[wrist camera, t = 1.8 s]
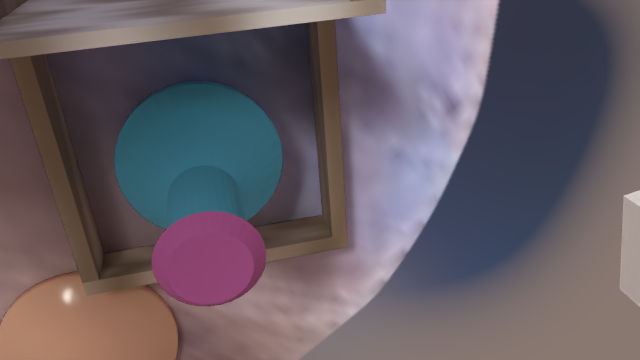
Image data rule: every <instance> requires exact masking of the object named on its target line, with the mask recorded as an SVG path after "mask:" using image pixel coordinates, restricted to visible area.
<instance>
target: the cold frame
mask: <svg viewBox="0 0 640 360" xmlns="http://www.w3.org/2000/svg"><path fill="white" fill-rule="evenodd" d="M383 13H386V0H0V59H8V58H9V60H10V63H11V66H12V69H13V72H14V75H15V78H16V82H17V85H18V88H19V91H20V94H21V97H22V100H23V103H24V106H25V109H26V112H27V115H28V118H29V121H30V124H31V128H32V131H33V134H34V137H35V140H36V143H37V146H38V149H39V152H40V155H41V158H42V161H43V164H44V167H45V171H46V174H47V177H48V180H49V183H50V186H51V189H52V192H53V195H54V198H55V201H56V204H57V207H58V210H59V214H60V217H61V220H62V223H63V226H64V229H65V232H66V235H67V238H68V241H69V244H70V247H71V250H72V253H73V256H74V260H75V263H76V266H77V269H78V272H79V275H80V278H81V281H82V284H83V287H84V290H85V293H86V296H89V295H94V294H100V293H105V292H110V291H116V290H121V289H126V288H132V287H137V286H142V285H148V284H153V283H158V282H157V281H156V279H155V276H154V274H153V270H152V263H151V262H152V253H153V250H154V247H155V245H151V246H145V247H140V248H134V249H128V250H123V251H117V252H111V253H106V254H104V251H103V248H102V244H101V241H100V238H99V234H98V231H97V227H96V224H95V221H94V217H93V214H92V210H91V207H90V204H89V200H88V197H87V193H86V190H85V187H84V183H83V180H82V177H81V173H80V170H79V166H78V163H77V160H76V156H75V153H74V149H73V146H72V143H71V139H70V136H69V132H68V129H67V126H66V122H65V119H64V116H63V112H62V109H61V105H60V102H59V99H58V95H57V92H56V88H55V85H54V82H53V78H52V75H51V71H50V68H49V65H48V61H47V58H46V54H49V53H58V52H66V51H74V50H83V49H91V48H99V47H108V46H116V45H124V44H133V43H141V42H150V41H158V40H166V39H175V38H183V37H191V36H200V35H208V34H216V33H225V32H233V31H241V30H250V29H258V28H266V27H275V26H283V25H292V24H300V23H307V27H308V39H309V52H310V64H311V77H312V89H313V102H314V115H315V127H316V140H317V152H318V165H319V177H320V190H321V202H322V215H320V216H315V217H309V218H303V219H298V220H292V221H287V222H281V223H275V224H270V225H264V226H258V227H254V228H255V229H256V230H257V231H258V232H259V234H260V235H261V237H262V239H263V241H264V244H265V248H266V262H270V261H276V260H281V259H286V258H292V257H297V256H302V255H308V254H313V253H318V252H324V251H329V250H334V249H340V248H345V247H348V242H347V225H346V207H345V190H344V173H343V155H342V138H341V121H340V103H339V86H338V68H337V51H336V34H335V19H342V18H350V17H358V16H367V15H375V14H383Z"/></svg>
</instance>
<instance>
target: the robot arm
mask: <svg viewBox="0 0 640 360" xmlns="http://www.w3.org/2000/svg"><path fill="white" fill-rule="evenodd" d="M620 290H621V291H623V292H624V293H625V294H626V295H627V296H628V297H629V298H630V299H631V300H633V301H634V302H635V303H636V304H637V305H638V306H639V307H640V191H637V192H634V193H631V194H628V195H625V196H624V202H623V226H622V247H621V270H620Z"/></svg>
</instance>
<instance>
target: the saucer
mask: <svg viewBox="0 0 640 360" xmlns="http://www.w3.org/2000/svg"><path fill="white" fill-rule="evenodd" d="M177 350H178V328H177V323H176V320H175V317H174V314H173V313H172V311H171V309H170V307H169V306H168V305H167V303H166V302H165V300H164V299H163V298H162V297H161V296H160V295H159V294H157V293H156V292H155V291H154V290H152V289H151V288H150V287H148V286H146V285H142V286H137V287H132V288H126V289H121V290H116V291H110V292H105V293H100V294H94V295H89V296H86V293H85V290H84V287H83V284H82V281H81V278H80V275H79V272H73V273H67V274H63V275H58V276H55V277H52V278H49V279H47V280H44V281H42V282H40V283H38V284H36V285H34V286H33V287H31V288H30V289H28V290H27V291H25V292H24V293H23V294H22V295H20V296H19V297H18V298H17V299H16V300H15V301H14V302H13V304H12V305H11V306H10V307H9V309H8V311H7V312H6V314H5V316H4V318H3V320H2V323H1V325H0V360H175V358H176V355H177Z"/></svg>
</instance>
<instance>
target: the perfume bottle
mask: <svg viewBox="0 0 640 360" xmlns="http://www.w3.org/2000/svg"><path fill="white" fill-rule="evenodd" d="M114 166H115V172H116V178H117V181H118V183H119V186H120V188H121V191H122V193H123V195H124V196H125V197H126V199H127V200H128V202H129V203H130V205H131V206H132V207H133V208H134V209H135V210H136V211H137V212H138V213H139V214H140V215H141V216H143V217H144V218H146V219H147V220H149V221H150V222H152V223H153V224H155V225H157V226H159V227H162V228H164V229H166V230H165V231H164V232H163V233H162V235H161V236H160V237H159V239H158V241H157V242H156V244H155V247H154V250H153V253H152V262H151V263H152V270H153V274H154V276H155V279H156V281H157V282H158V284H159V285H160V287H161V288H162V289H163V290H164V291H165V292H166V293H167V294H168V295H170V296H171V297H173V298H175V299H176V300H178V301H181V302H184V303H186V304H190V305H196V306H215V305H221V304H224V303H228V302H231V301H233V300H235V299H237V298H239V297H241V296H242V295H244V294H245V293H247V292H248V291H249V290H250V289H251V288H252V287H253V286H254V285H255V284H256V283H257V281H258V280H259V278H260V277H261V275H262V273H263V270H264V268H265V263H266V248H265V244H264V241H263V239H262V237H261V235H260V234H259V232H258V231H257V230H256V229H255V228H254V227H253V226H252V225H251V224H250V223H248V222H247V220H249V219H250V218H252V217H253V216H254V215H256V214H257V213H258V212H259V211H260V210H261V209H262V208H263V207H264V206H265V205H266V204H267V202H268V201H269V199H270V198H271V196H272V195H273V193H274V192H275V190H276V187H277V185H278V182H279V180H280V176H281V171H282V166H283V155H282V146H281V142H280V138H279V135H278V133H277V131H276V129H275V127H274V125H273V123H272V121H271V120H270V119H269V117H268V116H267V115H266V113H265V112H264V111H263V110H262V108H261V107H260V106H259V105H258V104H257V103H256V102H255V101H253V100H252V99H251V98H250V97H249V96H247V95H246V94H244V93H242V92H240V91H238V90H237V89H235V88H232V87H229V86H226V85H223V84H220V83H216V82H208V81H188V82H182V83H178V84H174V85H170V86H167V87H165V88H163V89H161V90H159V91H157V92H154V93H153V94H151V95H150V96H149V97H147V98H146V99H145V100H143V101H142V102H141V103H140V104H139V105H138V106H137V107H136V108H135V109H134V111H133V112H132V113H131V114H130V115H129V117H128V119H127V121H126V122H125V124H124V126H123V128H122V130H121V131H120V133H119V136H118V140H117V143H116V147H115V157H114Z"/></svg>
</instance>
